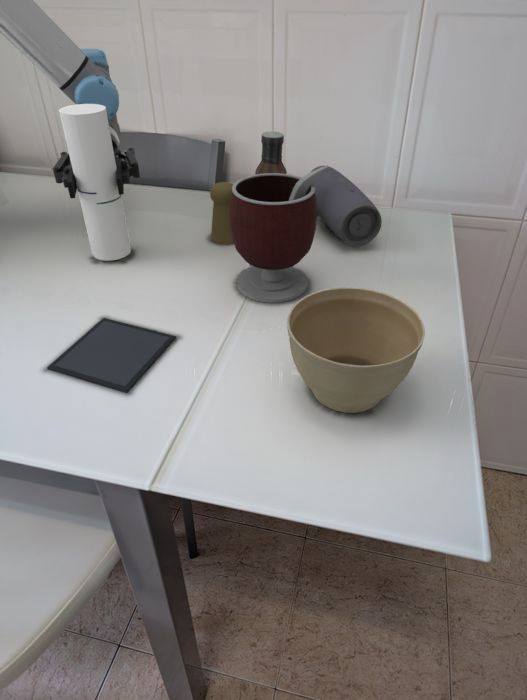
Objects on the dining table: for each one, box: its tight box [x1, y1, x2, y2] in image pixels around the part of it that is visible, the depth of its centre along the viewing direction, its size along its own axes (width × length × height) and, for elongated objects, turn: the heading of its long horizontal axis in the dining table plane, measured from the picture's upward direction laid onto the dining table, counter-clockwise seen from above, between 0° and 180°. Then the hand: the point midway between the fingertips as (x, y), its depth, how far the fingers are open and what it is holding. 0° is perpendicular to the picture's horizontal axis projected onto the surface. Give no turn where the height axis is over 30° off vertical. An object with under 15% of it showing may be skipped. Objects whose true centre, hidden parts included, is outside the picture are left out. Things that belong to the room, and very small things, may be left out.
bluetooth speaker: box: [310, 165, 383, 247], centre depth 102 cm, size 23×9×10 cm, turn 14°
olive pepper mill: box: [209, 181, 234, 245], centre depth 98 cm, size 6×6×11 cm
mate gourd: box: [230, 164, 330, 304], centre depth 81 cm, size 16×14×20 cm
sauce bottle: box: [254, 130, 288, 175], centre depth 95 cm, size 6×6×20 cm
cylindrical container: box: [58, 104, 132, 262], centre depth 86 cm, size 7×7×25 cm
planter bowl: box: [286, 286, 426, 414], centre depth 62 cm, size 16×16×11 cm
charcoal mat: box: [46, 317, 177, 394], centre depth 71 cm, size 13×13×1 cm
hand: (95, 188), depth 82 cm, fingers closed on cylindrical container, 7 cm apart
